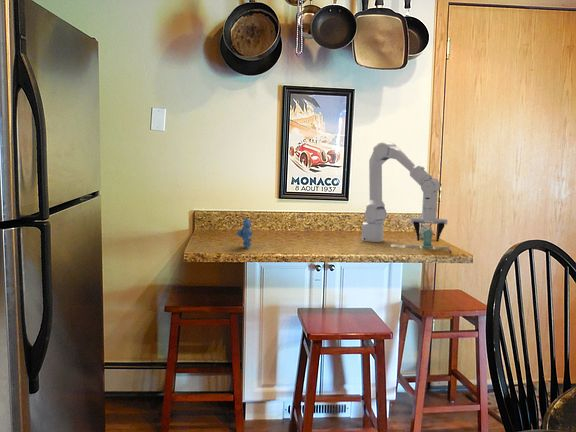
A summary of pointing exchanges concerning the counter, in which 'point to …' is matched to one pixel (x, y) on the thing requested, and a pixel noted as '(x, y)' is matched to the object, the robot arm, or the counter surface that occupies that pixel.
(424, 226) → the grey spiky ball
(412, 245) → the board
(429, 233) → the pawn
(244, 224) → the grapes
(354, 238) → the counter surface
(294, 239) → the counter surface
